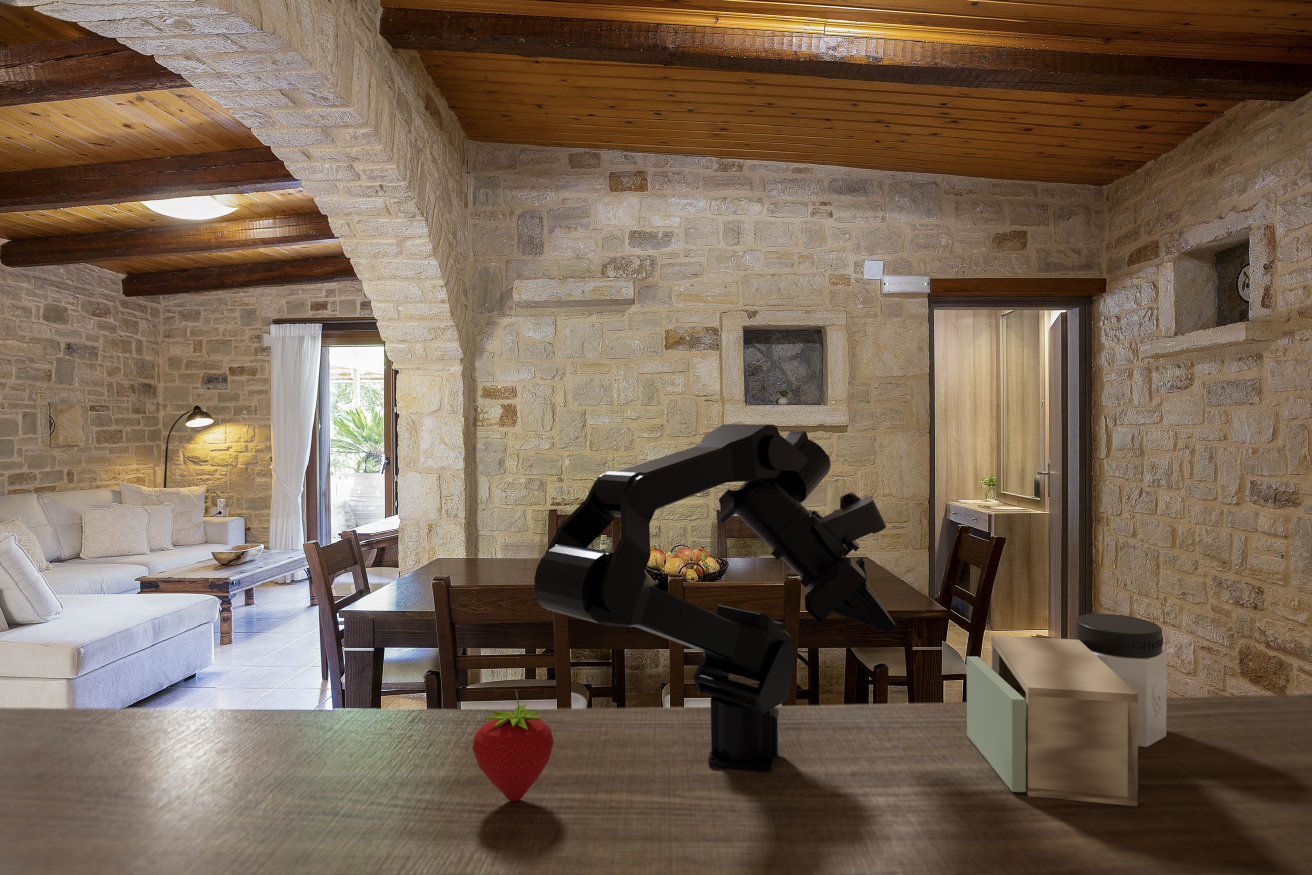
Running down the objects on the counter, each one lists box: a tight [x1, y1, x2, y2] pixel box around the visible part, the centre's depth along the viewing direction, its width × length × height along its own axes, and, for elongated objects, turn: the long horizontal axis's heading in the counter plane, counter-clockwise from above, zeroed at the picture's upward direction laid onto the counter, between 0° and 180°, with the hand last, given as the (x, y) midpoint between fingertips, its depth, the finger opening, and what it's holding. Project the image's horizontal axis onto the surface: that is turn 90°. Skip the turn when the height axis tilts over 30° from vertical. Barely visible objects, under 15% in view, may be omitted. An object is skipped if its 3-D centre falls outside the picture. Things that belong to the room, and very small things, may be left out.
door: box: [966, 656, 1027, 793], centre depth 74 cm, size 1×12×9 cm, turn 176°
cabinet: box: [990, 635, 1139, 807], centre depth 75 cm, size 9×16×10 cm, turn 167°
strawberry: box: [472, 690, 554, 802], centre depth 69 cm, size 6×8×10 cm
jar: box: [1075, 613, 1168, 748], centre depth 81 cm, size 9×8×12 cm
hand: (892, 629), depth 77 cm, fingers closed
